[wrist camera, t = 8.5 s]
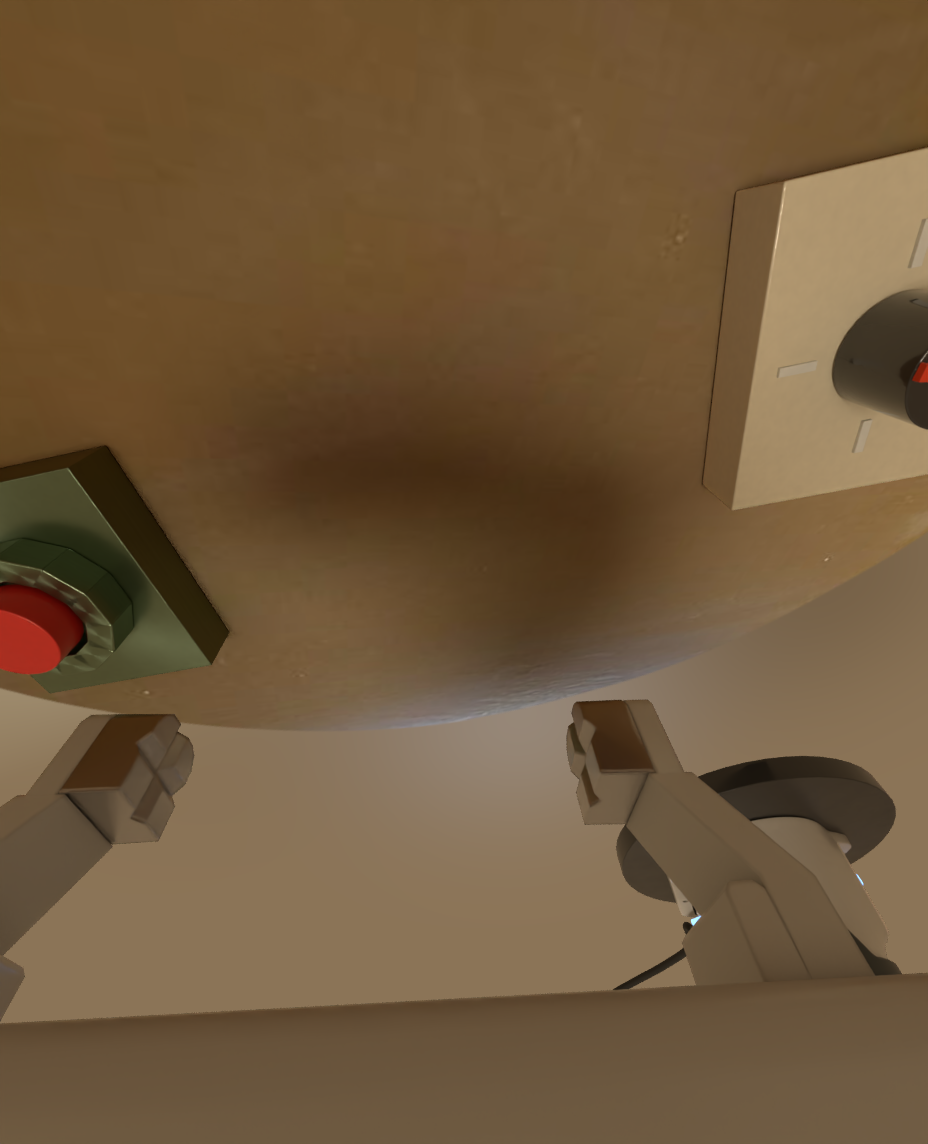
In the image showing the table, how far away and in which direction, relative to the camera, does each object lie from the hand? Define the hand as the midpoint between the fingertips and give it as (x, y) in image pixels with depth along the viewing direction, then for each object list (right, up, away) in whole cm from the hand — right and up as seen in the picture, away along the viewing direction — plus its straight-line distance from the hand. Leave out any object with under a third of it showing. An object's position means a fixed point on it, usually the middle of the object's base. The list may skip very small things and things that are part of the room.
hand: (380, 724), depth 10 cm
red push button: (-18, +1, +12) cm, 22 cm away
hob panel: (+18, +13, +10) cm, 25 cm away
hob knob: (+18, +12, +8) cm, 23 cm away
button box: (-19, +3, +16) cm, 24 cm away
